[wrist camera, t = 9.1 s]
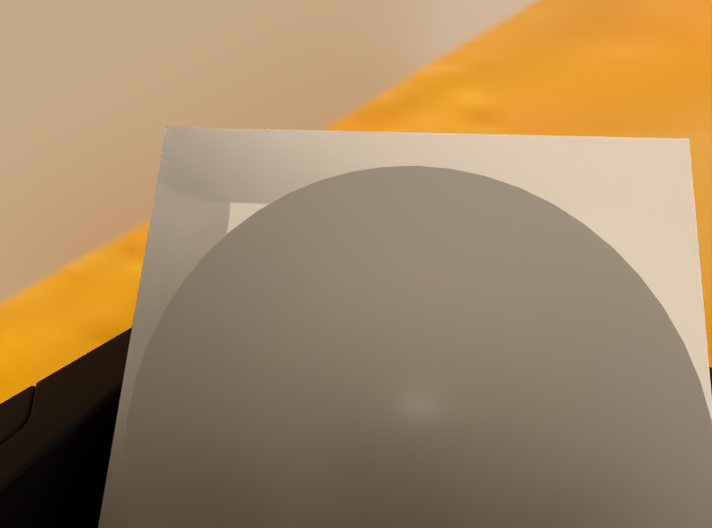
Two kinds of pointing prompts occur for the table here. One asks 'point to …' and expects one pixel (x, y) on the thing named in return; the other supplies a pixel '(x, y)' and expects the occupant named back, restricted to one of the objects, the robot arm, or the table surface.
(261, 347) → the rubber stamp
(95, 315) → the table surface
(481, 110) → the table surface
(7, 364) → the table surface
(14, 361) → the table surface
